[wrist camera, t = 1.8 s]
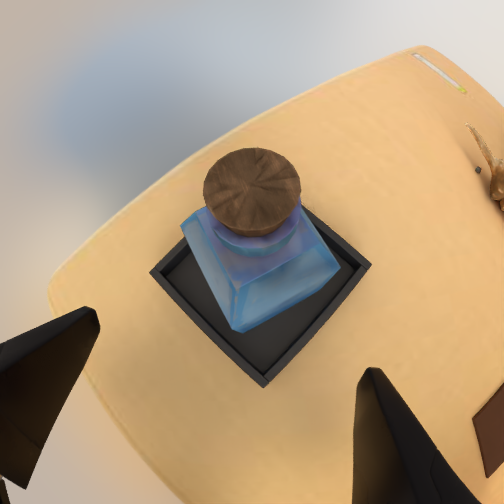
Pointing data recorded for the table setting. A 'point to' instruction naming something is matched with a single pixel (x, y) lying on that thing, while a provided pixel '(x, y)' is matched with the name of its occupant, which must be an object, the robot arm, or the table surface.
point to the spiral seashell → (500, 186)
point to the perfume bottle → (257, 238)
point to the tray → (276, 328)
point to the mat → (491, 432)
